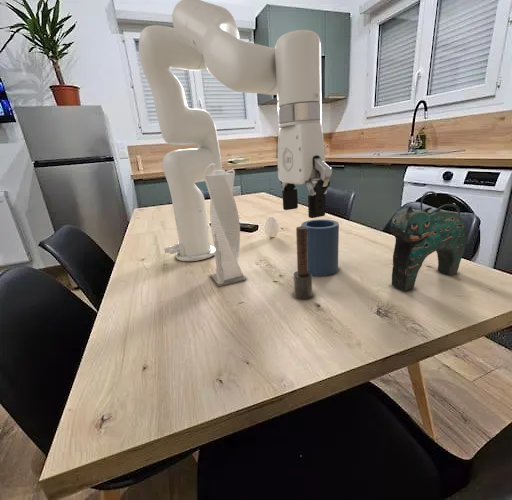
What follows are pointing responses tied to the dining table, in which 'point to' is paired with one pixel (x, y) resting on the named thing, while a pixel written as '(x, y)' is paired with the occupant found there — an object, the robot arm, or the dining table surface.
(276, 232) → the egg
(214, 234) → the skyscraper
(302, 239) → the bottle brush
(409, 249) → the ceramic cat
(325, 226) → the blue pipe segment
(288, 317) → the dining table surface
